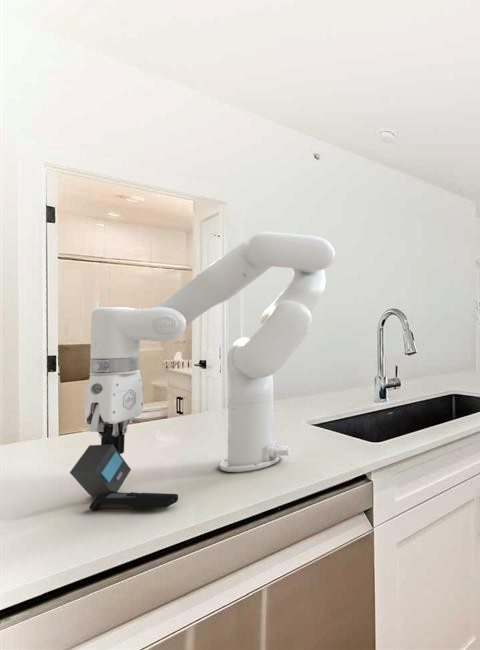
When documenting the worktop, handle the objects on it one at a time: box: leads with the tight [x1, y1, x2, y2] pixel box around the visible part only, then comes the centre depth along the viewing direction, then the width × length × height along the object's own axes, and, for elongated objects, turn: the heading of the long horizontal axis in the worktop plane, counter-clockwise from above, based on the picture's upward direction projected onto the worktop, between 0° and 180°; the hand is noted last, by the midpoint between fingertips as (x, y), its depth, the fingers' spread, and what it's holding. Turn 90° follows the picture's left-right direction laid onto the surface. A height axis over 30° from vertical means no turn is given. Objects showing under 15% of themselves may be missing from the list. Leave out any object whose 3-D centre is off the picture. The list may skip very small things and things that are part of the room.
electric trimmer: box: [88, 491, 179, 512], centre depth 81 cm, size 4×16×3 cm, turn 88°
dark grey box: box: [69, 444, 132, 499], centre depth 85 cm, size 4×6×9 cm
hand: (112, 454), depth 88 cm, fingers closed
